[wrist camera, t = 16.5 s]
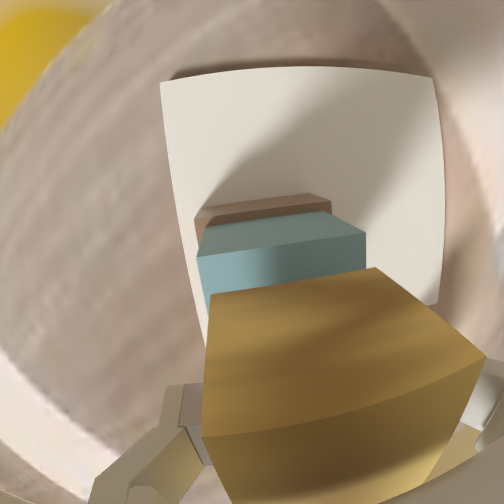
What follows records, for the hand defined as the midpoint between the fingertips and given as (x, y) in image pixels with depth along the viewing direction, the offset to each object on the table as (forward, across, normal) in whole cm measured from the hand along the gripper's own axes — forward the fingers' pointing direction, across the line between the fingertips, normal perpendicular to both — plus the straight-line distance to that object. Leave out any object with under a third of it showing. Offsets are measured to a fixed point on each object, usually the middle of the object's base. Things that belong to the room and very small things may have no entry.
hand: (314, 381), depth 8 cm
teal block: (+8, 0, 0) cm, 8 cm away
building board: (+14, -5, -2) cm, 15 cm away
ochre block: (+2, 0, 0) cm, 2 cm away
